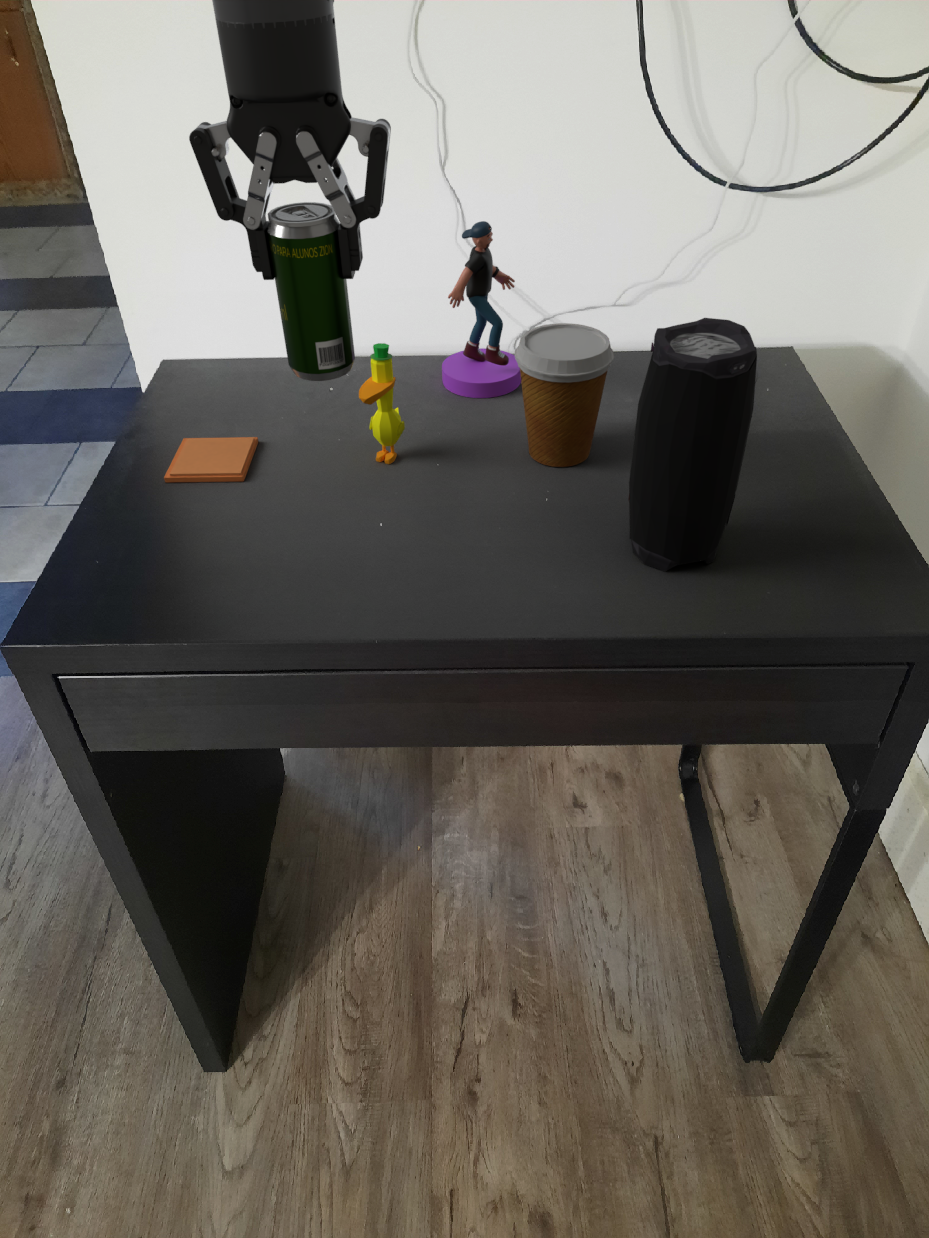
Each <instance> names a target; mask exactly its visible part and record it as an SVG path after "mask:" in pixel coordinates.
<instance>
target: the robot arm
mask: <svg viewBox="0 0 929 1238" xmlns="http://www.w3.org/2000/svg"><path fill="white" fill-rule="evenodd" d="M211 1H212V7H213V11H214V17H215V18H214V19H215V25H216V31H217V36H218V42H219V43H218V44H219V49H220V53H221V59H222V65H223V70H224V71H223V72H224V78H225V83H226V88H227V94H228V99H229V111H228V115H227V118H226V120H224V121H220V122H216V123H210V122H208V121H202V122H200V123H199V125H197V126H196V127H195V128H194V129H193V130H192V131H191V132H190V134H189V136H188V139H189V143H190V146H191V149H192V151H193V154H194V156H195V159H196V161H197V164H198V167H199V169H200V171H201V175H202V177H203V180H204V182H205V185H206V188H207V191H208V193H209V196H210V198H211V202H212V205H213V207H214V209H215V212H216V214H217V216H218V218H219V219H221V220H222V221H225V222H228V221H232V222H235V223H239V224H241V225H242V226H243V227H244V229H245V230H246V234H247V240H248V245H249V246H248V247H249V252H250V257H251V263H252V266H253V268H254V270H255V271H256V272H255V273H261V274H262V275H261V276H262V279H263V280H264V281H275V277H274V271H273V264H272V258H271V252H270V246H269V240H268V233H267V226H268V223H269V220H267V214H268V213H267V212H268V208H269V205H270V200H271V195H272V192H273V189H274V185H277V184H279V185H280V184H287V183H290V182H293V181H296V182H300V183H305V184H318V187H319V188H320V190H321V192H322V194H323V196H324V198H325V199H326V200H327V201H328V202H329V205H331V206H332V208H333V210H334V212H335V213H336V217H337V219H338V220H339V222H340V225H339V227H338V229H337V230H338V239H339V248H340V257H341V266H342V274H343V279H346V280H353V279H354V277H355V274H356V272H359V271H360V269H361V266H362V262H363V258H364V256H363V255H364V254H363V244H362V234H361V223H362V222H363V221H364V222H365V221H366V220H369V219H371V220H374V219H376V218H378V217H379V216H380V213H381V208H382V207H383V204H384V201H385V200H384V199H385V190H386V179H387V169H388V160H389V151H390V143H391V134H392V133H391V132H392V126H391V124H390V122H389V121H388V120H387V119H386V118H379V119H376V120H375V121H373V120H368V119H364V118H363V119H362V118H359V117H353V116H352V114H351V111H350V110H349V108H348V107H347V105H346V103H345V99H344V96H343V89H342V87H343V86H342V78H341V69H340V68H341V67H340V59H339V58H340V57H339V49H338V40H337V39H338V38H337V29H336V18H335V17H336V16H335V9H334V8H335V7H334V4H335V0H211ZM349 136H351V137H353V138H354V139H355V140H356V142H357V149H358V151H359V153H360V155H362V156H363V157H366V158H367V163H366V174H365V185H364V194H363V196H361V197H357V198H356V197H355V194H354V193H353V190H352V188H351V186H350V185H349V181H348V177H347V175H346V173H345V170H344V169H343V166H342V164H341V162H340V160H339V158H338V157H339V155H340V153H341V151H342V149H343V148H344V145H345V144H346V142H347V140H348V138H349ZM230 139H231V140H232V141H233V142H234V143H235V145H236V146H237V147H238V148H239V149H240V150H241V152H242V153H243V154H244V155H245V157H246V158H247V159H248V160H249V161H250V162H251V164H252V171H251V175H250V180H249V185H248V188H247V189H248V190H247V199H243V198H240V195H239V193H238V190H237V186H236V184H235V181H234V178H233V176H232V174H231V171H230V168H229V164H228V162H227V159H226V156H227V155H228V154H229V151H230V146H229V140H230Z"/></svg>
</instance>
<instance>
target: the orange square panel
mask: <svg viewBox="0 0 929 1238" xmlns="http://www.w3.org/2000/svg"><path fill="white" fill-rule="evenodd" d="M258 444H259V437H257V436H249V437H248V436H242V437H241V436H239V437H234V436H233V437H183V439H182V441H181V443H180V445H179V446H178V449H177V450H176V453H175V454H174V457H173V458H172V460H171V463H170V465H169V467H168V469H167V470H166V472H165V475H164V477H163V479H164V483H223V482H224V483H226V482H228V483H229V482H230V483H232V482H244V481H245V479H246V477H247V474H248V471H249V470H250V469H249V468H250V466H251V463H252V460H253V458H254V455H255V453H256V449H257V447H258Z"/></svg>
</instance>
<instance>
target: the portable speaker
mask: <svg viewBox="0 0 929 1238" xmlns="http://www.w3.org/2000/svg"><path fill="white" fill-rule="evenodd" d="M650 353H651V356H650V359H649V362H648V367H647V371H646V375H645V378H644V381H643V385H642V389H641V392H640V396H639V400H638V403H637V410H636V418H635V419H636V420H635V427H634V428H635V429H634V436H633V444H632V445H633V446H632V455H631V462H630V463H631V465H630V472H629V480H628V500H627V501H628V503H629V504H628V505H629V507H628V508H629V509H628V510H629V512H628V516H629V519H628V520H629V523H628V525H629V539H630V542H631V550H632V553H633V555H634V556H636V558H637V559H639V561H640V562H641V563H642V564H643V565H645V566H648V567H652V568H654V569H657V570H660V571H663V572H667V571H669V570H671V569H672V568H674V567H677V566H681V565H687V564H693V563H698V562H704V563H705V564H706V565H708V564H711V563H713V562H715V559H716V556H717V552H718V549H719V546H720V542H721V541H722V539H723V536H724V532H725V530H726V527H727V525H728V524H729V520H730V516H731V512H732V510H733V505H734V502H735V499H736V493H737V490H738V484H739V481H740V476H741V470H742V467H743V462H744V461H743V460H744V457H745V451H746V447H747V441H748V437H749V432H750V427H751V422H752V418H753V413H754V407H755V393H756V377H757V364H758V363H757V362H758V350H757V347H756V346H755V343H754V340H753V338H752V336H751V333H750V332H749V330H748V329H747V328H746V326H745V325H742V324H740V323H737V322H735V321H733V320H730V319H724V318H723V319H722V318H712V317H703V318H701V319H698V320H695V321H688V322H685V323H679V324H676V325H671V326H667V327H659V328H658V327H657V328H656V331H655V333H654V335H653V342H651V345H650Z"/></svg>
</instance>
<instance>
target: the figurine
mask: <svg viewBox="0 0 929 1238" xmlns="http://www.w3.org/2000/svg"><path fill="white" fill-rule="evenodd" d="M492 229H493V227H492V225H491V224H490V223H489V222H488V221H485V220H483V221H478V222H475V223H474V224H473V225H472V226H471V228H468V229H466V230H464V231H463V232H462V233H461V238H462V239H464V240H465V239H470V238H471V239H472V242H473V244H474V245H475V246H473V247H472V248H471V251H470V253H469V258H468V260H467V261H466V262H465V264H464V268H463V270H462V271H461V274H460V275H459V277H458V279H457V282H456V284H455V285H454V287H453V289H452V291H451V292H450V293H449V294H448V296H447V299H449V300H450V301H449V305H452V307H451V308H452V309H455V308H459V306H460V305H461V302H465V294H466V297H467V298H468V301H469V303H470V304H471V305H472V307H473V308H474V311H475V312H474V313H475V317H476V318H475V319H476V321H475V323H474V325H473V328H472V330H471V333H470V335H469V339H468V340H467V341H466V343H465V347H464V349H463V350H460V351H457V352H455V353H453V354H451V355H449V356H447V357H446V358H445V359H444V360H443V361H442V364H441V376H442V377H441V378H442V381H441V382H442V385H443V387H444V388H445V389H446V390H448V391H449V392H451V393H452V394H455V395H458V396H461V397H464V398H471V399H472V398H473V399H490V398H497V397H501V396H504V395H507V394H509V393H512V392H513V391H515V390H516V389H518V388H519V387H520V385H521V374H520V368H519V367H518V363H517V361H516V359H515V354H513V353H510V352H509V351H506V350H501V349H500V348H501V345H500V342H501V337H502V333H503V328H504V322H503V320H502V318H501V316H500V315H499V313H497V311H496V310H495V308H494V307H493V306H492V305H491V304H490V302H489V300H488V298H489V294H490V293H491V291H492V285H493V279H494V280H495V281H496V282H498V283H499V284H500V285H501V287H502V288H501V289H502V291H505V290H506V287H507V289H508V290H511V289H515V286H516V285H514V284H513V283H515V282H516V280H515V279H514V278H513V277H511V276H510V275H508V274H506V273H505V272H503V271H501V270H500V268H499V267H498V266H495V265H494V262H493V255H492V251H491V250H490V248H489V247H490V245H491V244H492V242H493V241H494V239H493V237H492V236H493V235H494V234H493V231H492ZM487 323H489V324H490V325H491V326H492V327H491V328H490V331H489V336H488V342H487V343H488V344H487V345H486V347H482V348H480V344H481V338H482V337H483V332H484V331H485V328H486V327H487Z"/></svg>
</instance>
